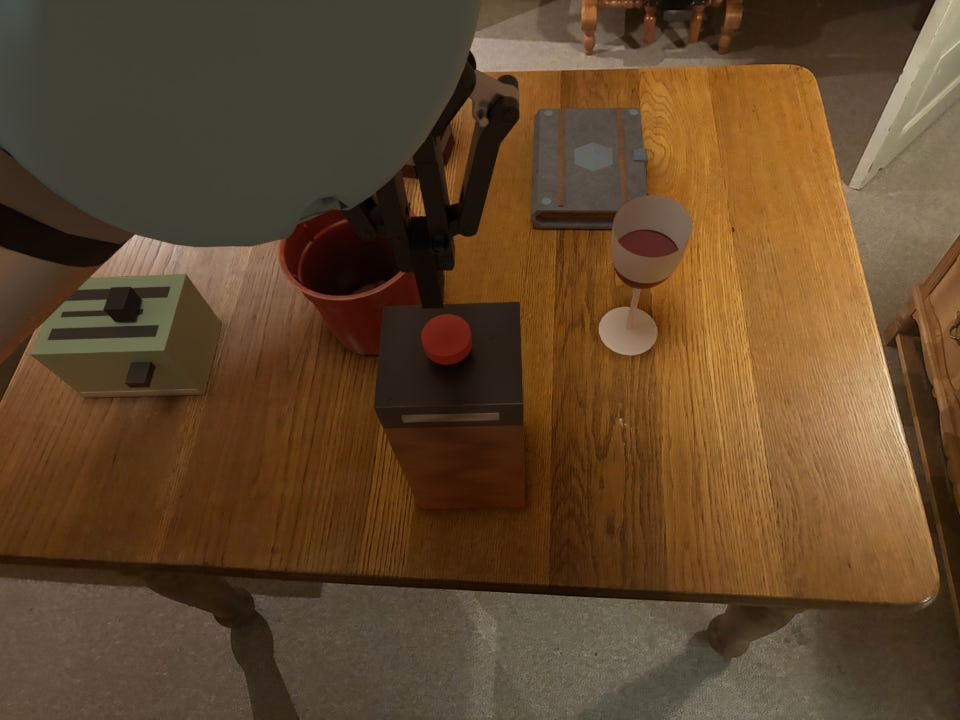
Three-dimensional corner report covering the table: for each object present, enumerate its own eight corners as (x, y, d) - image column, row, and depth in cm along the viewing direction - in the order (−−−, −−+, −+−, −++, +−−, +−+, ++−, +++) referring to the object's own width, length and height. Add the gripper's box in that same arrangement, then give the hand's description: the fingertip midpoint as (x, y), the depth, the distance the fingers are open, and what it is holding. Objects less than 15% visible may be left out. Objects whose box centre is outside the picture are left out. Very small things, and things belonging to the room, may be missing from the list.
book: (534, 130, 106) (534, 104, 101) (638, 129, 104) (643, 102, 100) (530, 230, 95) (530, 205, 91) (647, 230, 94) (652, 206, 90)
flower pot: (306, 371, 85) (264, 299, 72) (327, 270, 94) (292, 188, 80) (432, 372, 84) (413, 299, 70) (442, 270, 92) (427, 186, 79)
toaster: (77, 417, 84) (20, 375, 75) (109, 327, 91) (60, 278, 82) (200, 414, 83) (157, 371, 74) (222, 323, 90) (186, 273, 81)
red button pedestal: (419, 510, 75) (373, 409, 53) (423, 429, 80) (383, 305, 58) (524, 508, 74) (523, 405, 52) (522, 426, 80) (519, 301, 57)
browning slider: (115, 322, 77) (102, 309, 75) (122, 300, 79) (110, 287, 77) (135, 321, 77) (123, 308, 75) (142, 299, 79) (130, 286, 77)
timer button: (422, 365, 53) (420, 356, 52) (424, 324, 55) (422, 314, 54) (472, 364, 53) (470, 355, 52) (472, 322, 55) (471, 313, 54)
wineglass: (584, 340, 85) (597, 237, 68) (617, 294, 89) (638, 184, 71) (639, 369, 83) (668, 269, 65) (671, 320, 86) (706, 213, 69)
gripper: (520, -103, 29) (522, 249, 49) (228, -84, 30) (349, 255, 50) (525, -4, 25) (525, 334, 45) (190, 15, 26) (338, 339, 46)
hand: (433, 292), depth 48 cm, fingers closed
